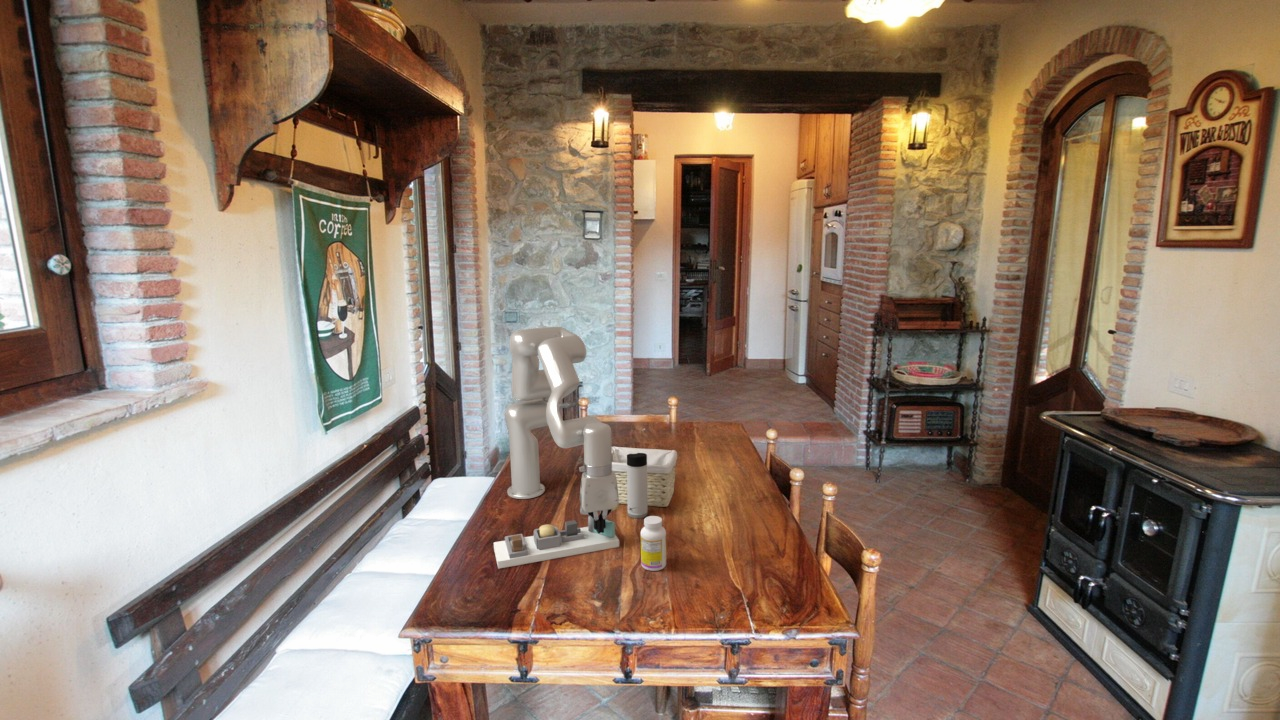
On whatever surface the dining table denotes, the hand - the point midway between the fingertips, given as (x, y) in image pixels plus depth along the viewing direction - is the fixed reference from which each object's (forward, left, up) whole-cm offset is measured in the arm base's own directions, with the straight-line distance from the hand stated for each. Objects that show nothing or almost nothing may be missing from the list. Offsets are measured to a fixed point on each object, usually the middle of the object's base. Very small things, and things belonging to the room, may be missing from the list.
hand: (599, 530), depth 165 cm
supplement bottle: (+15, +10, -5) cm, 19 cm away
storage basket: (-28, +21, -5) cm, 35 cm away
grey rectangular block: (-4, -7, -2) cm, 9 cm away
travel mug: (-15, +16, -5) cm, 23 cm away
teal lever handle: (-3, +1, -2) cm, 4 cm away
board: (-3, -12, -4) cm, 13 cm away
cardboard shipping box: (0, -23, -2) cm, 23 cm away
